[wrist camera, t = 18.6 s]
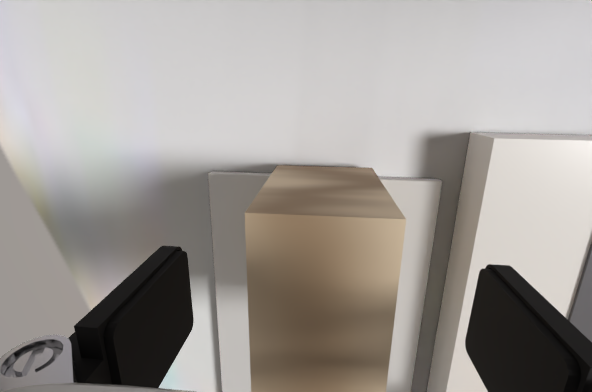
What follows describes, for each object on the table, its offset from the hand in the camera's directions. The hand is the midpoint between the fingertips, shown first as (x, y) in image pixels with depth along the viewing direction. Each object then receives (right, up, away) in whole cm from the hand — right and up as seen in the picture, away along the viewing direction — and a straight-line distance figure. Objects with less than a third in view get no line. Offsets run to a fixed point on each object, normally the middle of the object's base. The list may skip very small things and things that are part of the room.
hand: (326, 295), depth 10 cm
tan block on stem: (0, -2, +5) cm, 6 cm away
